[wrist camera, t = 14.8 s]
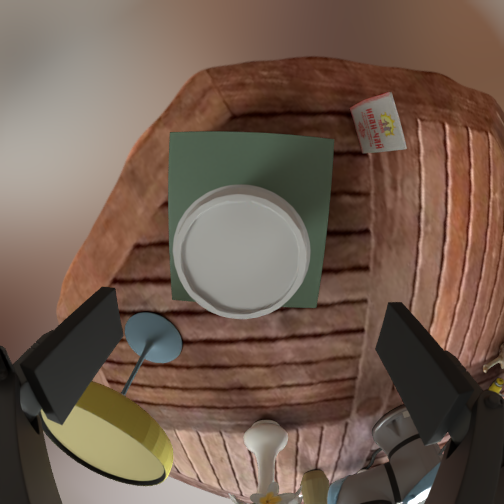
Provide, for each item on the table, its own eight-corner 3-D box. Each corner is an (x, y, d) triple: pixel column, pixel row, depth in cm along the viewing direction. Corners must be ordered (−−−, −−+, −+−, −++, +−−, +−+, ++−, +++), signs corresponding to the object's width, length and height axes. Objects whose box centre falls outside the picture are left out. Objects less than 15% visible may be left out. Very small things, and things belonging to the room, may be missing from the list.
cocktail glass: (91, 308, 45) (10, 396, 21) (172, 278, 43) (97, 391, 19) (140, 382, 50) (96, 480, 26) (220, 365, 48) (198, 489, 24)
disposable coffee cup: (188, 196, 29) (145, 218, 18) (275, 164, 28) (286, 164, 16) (221, 277, 32) (202, 339, 20) (304, 249, 30) (329, 300, 19)
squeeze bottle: (297, 480, 62) (301, 529, 45) (301, 469, 59) (306, 522, 42) (324, 478, 62) (331, 526, 44) (330, 466, 59) (338, 518, 42)
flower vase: (255, 452, 56) (252, 539, 33) (223, 410, 51) (209, 516, 28) (307, 441, 55) (318, 531, 31) (284, 396, 50) (293, 510, 26)
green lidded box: (304, 275, 42) (316, 308, 33) (190, 269, 42) (172, 299, 33) (315, 145, 36) (334, 139, 27) (191, 139, 37) (169, 132, 27)
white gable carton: (372, 104, 34) (403, 90, 25) (384, 148, 36) (418, 146, 26) (349, 107, 34) (376, 93, 25) (362, 153, 36) (392, 151, 27)
